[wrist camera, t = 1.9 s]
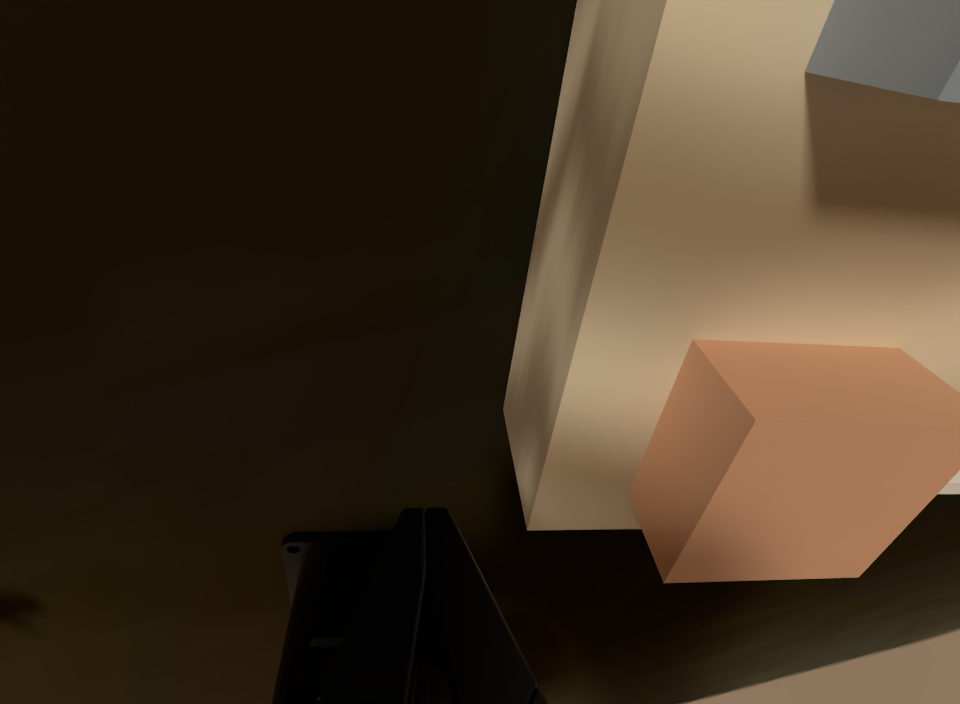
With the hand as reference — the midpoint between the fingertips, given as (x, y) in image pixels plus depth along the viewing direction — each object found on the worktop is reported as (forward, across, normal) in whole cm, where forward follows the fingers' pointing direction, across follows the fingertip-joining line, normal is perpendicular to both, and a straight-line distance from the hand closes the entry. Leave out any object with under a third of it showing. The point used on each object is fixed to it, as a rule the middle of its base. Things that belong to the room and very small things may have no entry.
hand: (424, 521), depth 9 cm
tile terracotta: (+2, -8, 0) cm, 8 cm away
